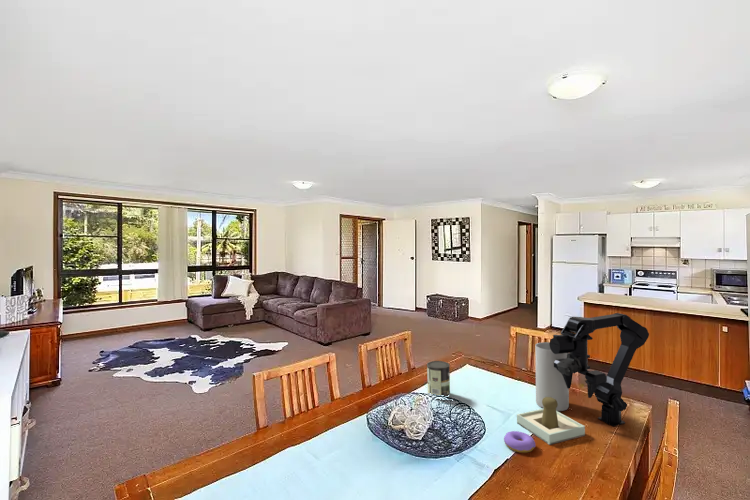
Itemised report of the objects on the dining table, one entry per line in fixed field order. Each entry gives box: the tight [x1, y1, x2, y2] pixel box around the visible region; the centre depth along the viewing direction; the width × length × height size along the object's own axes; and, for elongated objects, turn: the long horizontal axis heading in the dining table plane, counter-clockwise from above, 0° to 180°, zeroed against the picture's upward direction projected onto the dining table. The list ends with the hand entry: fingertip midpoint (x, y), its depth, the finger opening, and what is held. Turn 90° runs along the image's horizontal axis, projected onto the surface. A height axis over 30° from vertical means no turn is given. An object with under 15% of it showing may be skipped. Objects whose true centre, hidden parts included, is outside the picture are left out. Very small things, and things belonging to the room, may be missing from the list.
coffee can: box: [426, 360, 451, 396], centre depth 168 cm, size 10×10×14 cm
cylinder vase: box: [534, 341, 570, 412], centre depth 155 cm, size 12×12×25 cm
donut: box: [503, 430, 536, 454], centre depth 126 cm, size 10×9×5 cm
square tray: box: [516, 408, 586, 446], centre depth 136 cm, size 16×16×4 cm
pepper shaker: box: [541, 397, 559, 430], centre depth 136 cm, size 6×6×11 cm
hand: (578, 392), depth 138 cm, fingers open, 9 cm apart
